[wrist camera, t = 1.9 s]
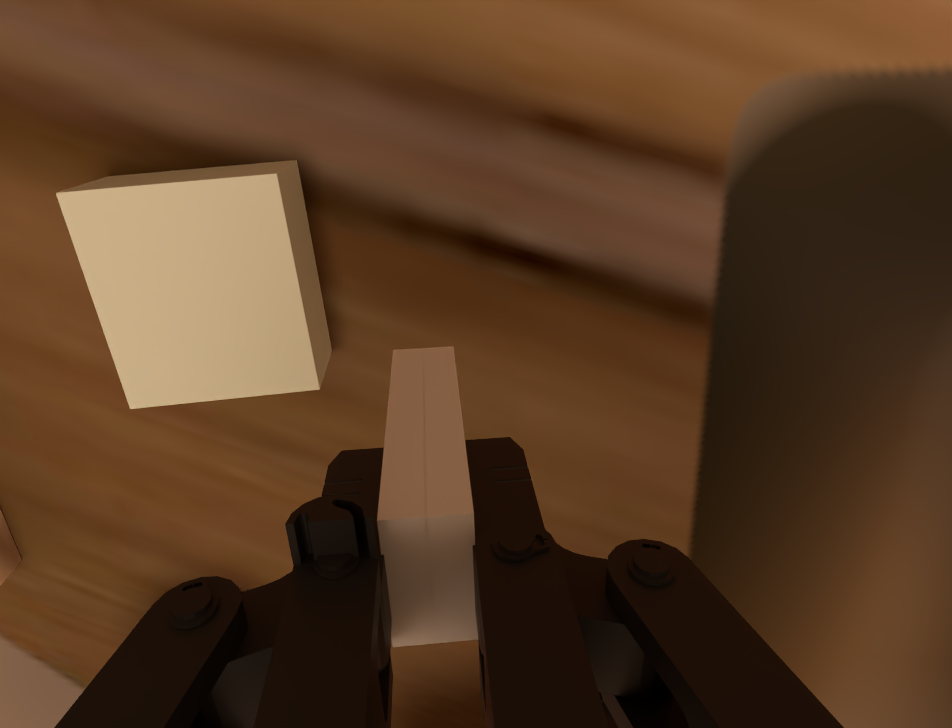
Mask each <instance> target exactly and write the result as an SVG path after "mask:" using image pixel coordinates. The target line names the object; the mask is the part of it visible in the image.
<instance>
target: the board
mask: <svg viewBox="0 0 952 728" xmlns="http://www.w3.org/2000/svg"><path fill="white" fill-rule="evenodd" d="M21 560H22V559H21V557H20V554H19V552H18V549H17V547H16V545H15V542H14V540H13V538H12V535H11V533H10V531H9V528H8V526H7V523H6V521H5V519H4V516H3V514H2V512H1V509H0V585H1V584H2V583H3V582H4V581H5V579H6V578H7V577H8V576H9V575H10V573H11V572H12V571H13V570H14V569H15V567H16V566H17V565H18V564H19V562H20V561H21Z"/></svg>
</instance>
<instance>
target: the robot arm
mask: <svg viewBox="0 0 952 728" xmlns="http://www.w3.org/2000/svg"><path fill="white" fill-rule="evenodd" d="M285 525H286V530H287V535H288V540H289V545H290V550H291V555H292V560H293V565H294V567H293V571H292V572H290V573H289V574H287V575H285V576H284V577H282V578H281V579H279V580H276V581H274V582H271V583H269V584H266V585H263V586H260V587H257V588H254V589H251V590H248V591H245V592H242V593H241V592H240V589H239V587H237V586H236V585H235V584H234V583H233V582H232V581H231V580H228V579H225V578H221V577H218V576H216V577H200V578H197V579H194V580H191V581H187V582H184V583H182V584H180V585H178V586H176V587H175V588H173V589H171V590H169V591H168V592H166V593H165V594H164V595H163V596H162V597H161V598H160V599H159V600H158V601H156V602H155V603H154V604H153V605H152V607H151V608H150V609H149V610H148V612H147V613H146V614H145V615H144V617H143V618H142V619H141V620H140V622H139V623H138V624H137V625H136V627H135V628H134V629H133V630H132V632H131V633H130V634H129V635H128V637H127V638H126V639H125V640H124V642H123V643H122V644H121V645H120V647H119V648H118V649H117V650H116V652H115V653H114V654H113V655H112V657H111V658H110V659H109V660H108V662H107V663H106V664H105V665H104V666H103V668H102V669H101V670H100V671H99V673H98V674H97V675H96V676H95V678H94V679H93V680H92V681H91V683H90V684H89V685H88V686H87V688H86V689H85V690H84V691H83V693H82V694H81V695H80V696H79V698H78V699H77V700H76V701H75V703H74V704H73V705H72V706H71V708H70V709H69V710H68V711H67V713H66V714H65V715H64V717H63V718H62V719H61V720H60V722H59V723H58V724H57V725H56V726H55V728H391V709H392V684H393V672H392V664H391V656H390V647H391V638H392V646H393V647H401V646H412V645H423V644H434V643H445V642H456V641H468V640H478V641H479V661H480V685H481V698H483V705H484V716H485V726H486V728H843V726H842V725H841V724H840V723H839V722H838V721H837V720H836V719H835V718H834V717H833V715H832V714H831V713H830V712H829V711H828V710H827V709H826V708H825V707H824V706H823V705H822V703H821V702H820V701H819V700H818V699H817V698H816V697H815V696H814V695H813V694H812V692H811V691H810V690H809V689H808V688H807V687H806V686H805V685H804V684H803V683H802V682H801V681H800V679H799V678H798V677H797V676H796V675H795V674H794V673H793V672H792V671H791V670H790V668H789V667H788V666H787V665H786V664H785V663H784V662H783V661H782V660H781V659H780V658H779V656H778V655H777V654H776V653H775V652H774V651H773V650H772V649H771V648H770V647H769V645H768V644H767V643H766V642H765V641H764V640H763V639H762V638H761V637H760V636H759V635H758V634H757V632H756V631H755V630H754V629H753V628H752V627H751V626H750V625H749V624H748V623H747V621H746V620H745V619H744V618H743V617H742V616H741V615H740V614H739V613H738V612H737V610H736V609H735V608H734V607H733V606H732V605H731V604H730V603H729V602H728V601H727V600H726V598H725V597H724V596H723V595H722V594H721V593H720V592H719V591H718V590H717V589H716V587H714V585H713V584H712V583H711V582H710V581H709V580H708V579H707V578H706V577H705V575H704V574H703V573H702V572H701V571H700V570H699V569H698V568H697V567H696V566H695V565H694V563H693V562H692V561H691V560H690V559H689V558H688V557H687V556H685V555H684V554H683V553H682V552H680V551H679V550H678V549H677V548H675V547H672V546H670V545H667V544H665V543H663V542H660V541H653V540H647V539H640V540H631V541H627V542H625V543H623V544H620V545H618V546H616V547H615V548H614V550H613V551H612V552H611V553H610V554H609V556H608V559H602V558H595V557H589V556H584V555H580V554H576V553H573V552H571V551H569V550H566V549H564V548H562V547H561V546H559V545H558V544H557V543H556V542H555V541H554V539H553V537H552V536H551V534H550V533H548V532H547V531H546V530H545V528H544V524H543V521H542V517H541V513H540V510H539V506H538V502H537V499H536V495H535V491H534V488H533V484H532V481H531V477H530V473H529V469H528V467H527V462H526V458H525V455H524V451H523V449H522V448H521V447H520V446H519V445H518V444H517V443H515V442H514V441H513V440H512V439H511V438H510V437H505V438H491V439H476V440H465V437H464V428H463V420H462V412H461V404H460V396H459V388H458V380H457V371H456V363H455V355H454V347H453V346H449V347H433V348H417V349H401V350H393V357H392V367H391V378H390V388H389V399H388V410H387V420H386V431H385V441H384V448H373V449H359V450H345V451H341V452H340V453H339V454H338V456H337V457H336V458H335V459H334V460H333V461H332V462H331V463H330V464H329V466H328V470H327V474H326V479H325V485H324V487H323V492H322V497H319V498H316V499H314V500H312V501H309V502H307V503H305V504H303V505H302V506H300V507H299V508H298V509H297V510H295V511H294V512H293V513H292V514H291V515H290V517H289V519H288V521H287V522H286V524H285Z"/></svg>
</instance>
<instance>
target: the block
mask: <svg viewBox="0 0 952 728" xmlns="http://www.w3.org/2000/svg"><path fill="white" fill-rule="evenodd" d="M56 195H57V198H58V201H59V204H60V207H61V209H62V212H63V215H64V218H65V221H66V224H67V227H68V230H69V233H70V236H71V238H72V241H73V244H74V247H75V250H76V253H77V256H78V259H79V262H80V265H81V267H82V270H83V273H84V276H85V279H86V282H87V285H88V288H89V291H90V293H91V296H92V299H93V302H94V305H95V308H96V311H97V314H98V317H99V320H100V322H101V325H102V328H103V331H104V334H105V337H106V340H107V343H108V346H109V349H110V351H111V354H112V357H113V360H114V363H115V366H116V369H117V372H118V375H119V377H120V380H121V383H122V386H123V389H124V392H125V395H126V398H127V401H128V404H129V406H130V409H135V408H144V407H154V406H164V405H174V404H183V403H193V402H203V401H213V400H222V399H232V398H242V397H252V396H261V395H271V394H281V393H291V392H300V391H310V390H320V387H321V384H322V381H323V378H324V375H325V371H326V368H327V365H328V362H329V359H330V356H331V353H332V348H331V342H330V337H329V331H328V326H327V321H326V315H325V310H324V304H323V299H322V294H321V288H320V283H319V277H318V272H317V267H316V261H315V256H314V250H313V245H312V239H311V234H310V229H309V223H308V218H307V212H306V207H305V202H304V196H303V191H302V185H301V180H300V175H299V169H298V164H297V160H291V161H279V162H268V163H256V164H245V165H233V166H222V167H210V168H199V169H187V170H176V171H164V172H153V173H141V174H130V175H118V176H108V177H104V178H101V179H98V180H95V181H92V182H89V183H85V184H82V185H79V186H76V187H73V188H70V189H67V190H63V191H60V192H57V193H56Z"/></svg>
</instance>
